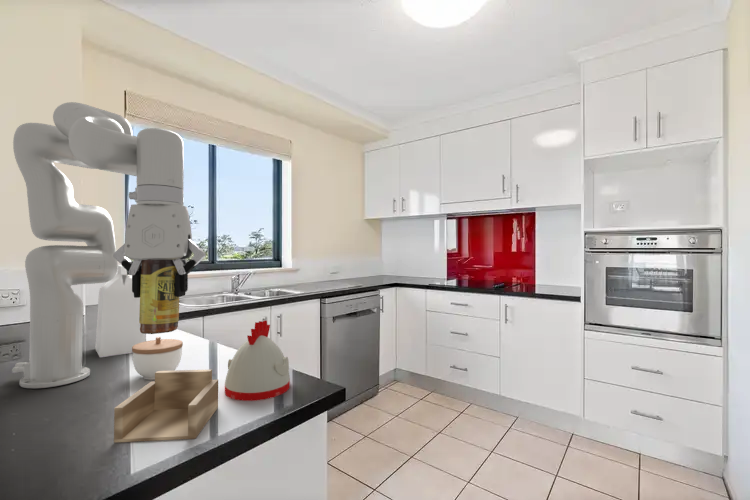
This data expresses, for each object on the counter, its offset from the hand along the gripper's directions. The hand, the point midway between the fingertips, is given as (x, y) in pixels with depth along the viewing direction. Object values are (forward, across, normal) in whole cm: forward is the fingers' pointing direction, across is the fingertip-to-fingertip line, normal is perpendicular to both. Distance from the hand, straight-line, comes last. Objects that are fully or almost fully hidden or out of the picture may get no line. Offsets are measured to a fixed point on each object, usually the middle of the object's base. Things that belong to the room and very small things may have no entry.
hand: (160, 295), depth 68 cm
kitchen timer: (+23, +15, +14) cm, 31 cm away
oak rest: (+23, +3, -2) cm, 23 cm away
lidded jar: (+22, -11, +25) cm, 35 cm away
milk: (+22, -33, +51) cm, 65 cm away
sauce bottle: (+7, 0, 0) cm, 7 cm away
